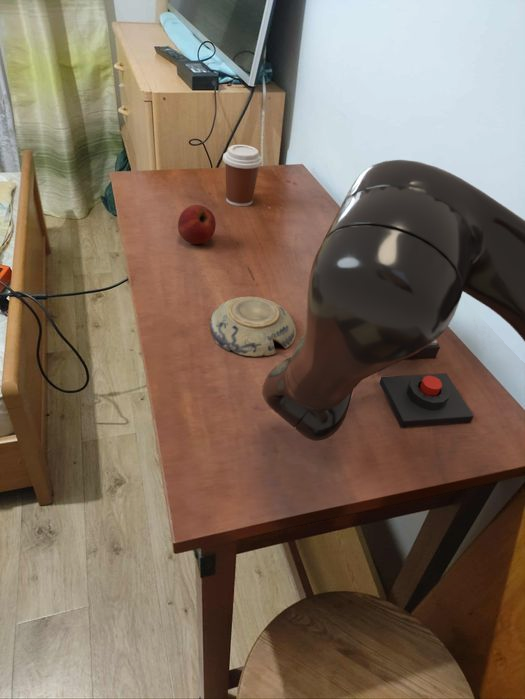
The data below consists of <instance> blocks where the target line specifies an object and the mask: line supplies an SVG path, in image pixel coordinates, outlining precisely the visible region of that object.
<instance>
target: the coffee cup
mask: <svg viewBox="0 0 525 699" xmlns="http://www.w3.org/2000/svg"><path fill="white" fill-rule="evenodd" d="M222 155H223V156H222V161H223V162H224V164H225V200H226V203H228V204H230V205H232V206H237V207H247V206H250V205H251V204H253V201H254V195H255V190H256V184H257V178H258V175H259V174H258V173H259V168H260V167H261V166H262V165H263V157H262V156H261V155H260V154H259V150H258V149H257V148H256V147H253V146H251V145H247V144H233V145H230V146H229V147H227V151H226V152H224V153H223V154H222Z"/></svg>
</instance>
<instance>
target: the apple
mask: <svg viewBox="0 0 525 699" xmlns="http://www.w3.org/2000/svg"><path fill="white" fill-rule="evenodd" d="M216 224H217V222H216V217H215V215H214V214H213V212H212V211H211V210H210V209H209V208H208V207H206V206H204V205H202V204H193V205H189V206H187V207H185V209H183V211H182V212H181V213H180V215H179V217H178V221H177V230H178V233H179V235H180V236H181V238H182V239H183V240H184V241H185V242H188V243H190V244H193V245H202V244H206V243H208V241H209V240H211V239H212V237H213V236H214V234H215V231H216Z"/></svg>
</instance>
